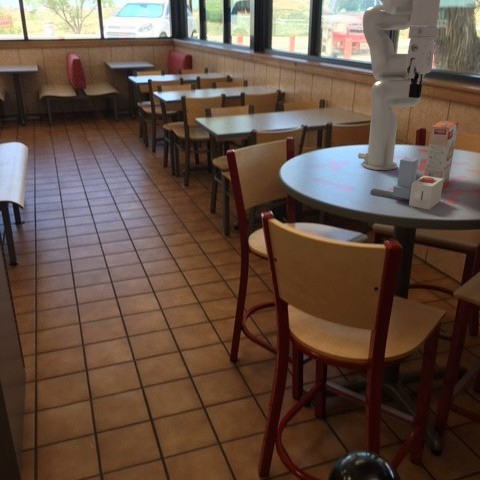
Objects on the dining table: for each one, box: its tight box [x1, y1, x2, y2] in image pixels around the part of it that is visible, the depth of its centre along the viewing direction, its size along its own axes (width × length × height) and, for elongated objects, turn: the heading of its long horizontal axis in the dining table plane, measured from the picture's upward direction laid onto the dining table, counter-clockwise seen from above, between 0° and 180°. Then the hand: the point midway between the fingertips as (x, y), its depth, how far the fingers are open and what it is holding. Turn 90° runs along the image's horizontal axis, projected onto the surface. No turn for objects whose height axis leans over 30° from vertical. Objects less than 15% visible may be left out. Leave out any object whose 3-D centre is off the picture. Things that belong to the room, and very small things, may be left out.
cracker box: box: [423, 119, 460, 190], centre depth 166 cm, size 14×6×21 cm, turn 148°
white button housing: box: [408, 175, 444, 210], centre depth 153 cm, size 6×10×7 cm, turn 142°
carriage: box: [392, 157, 419, 199], centre depth 155 cm, size 5×7×11 cm
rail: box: [369, 188, 410, 202], centre depth 160 cm, size 14×2×1 cm, turn 52°
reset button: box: [422, 177, 434, 184], centre depth 152 cm, size 3×3×3 cm
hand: (414, 97), depth 157 cm, fingers closed
